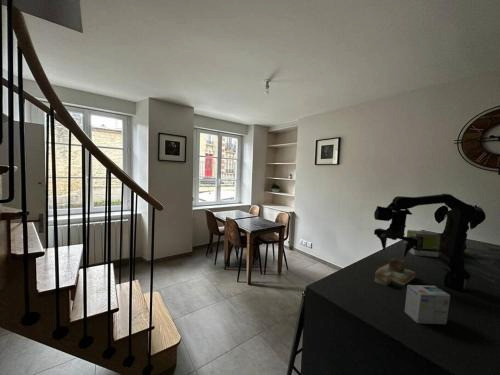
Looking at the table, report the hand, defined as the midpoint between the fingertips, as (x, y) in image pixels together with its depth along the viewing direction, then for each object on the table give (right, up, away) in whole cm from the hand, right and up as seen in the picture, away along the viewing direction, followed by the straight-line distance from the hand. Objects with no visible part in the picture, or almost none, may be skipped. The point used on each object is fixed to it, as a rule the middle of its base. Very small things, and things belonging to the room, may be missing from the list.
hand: (394, 253), depth 108 cm
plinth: (+3, -12, +3) cm, 13 cm away
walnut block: (+3, -9, +2) cm, 10 cm away
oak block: (-8, -12, -4) cm, 16 cm away
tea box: (+44, -12, +39) cm, 60 cm away
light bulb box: (-8, -15, -29) cm, 34 cm away
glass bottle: (+68, -13, +46) cm, 83 cm away
